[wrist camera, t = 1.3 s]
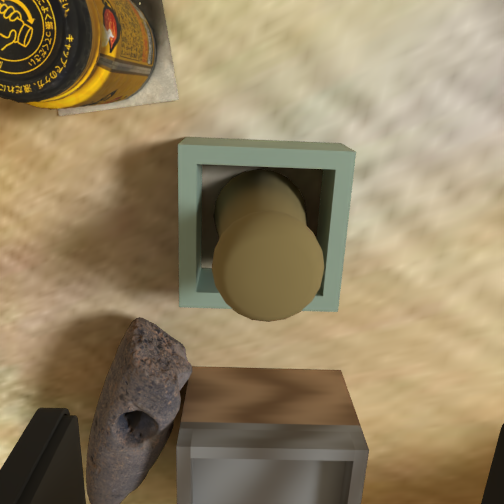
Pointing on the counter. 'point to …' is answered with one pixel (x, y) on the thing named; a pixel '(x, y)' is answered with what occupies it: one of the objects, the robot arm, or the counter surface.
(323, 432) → the gray open box
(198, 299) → the shaker holder
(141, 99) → the condiment
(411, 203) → the counter surface
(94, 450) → the perforated stone tool
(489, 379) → the counter surface
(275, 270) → the tan rounded piece
